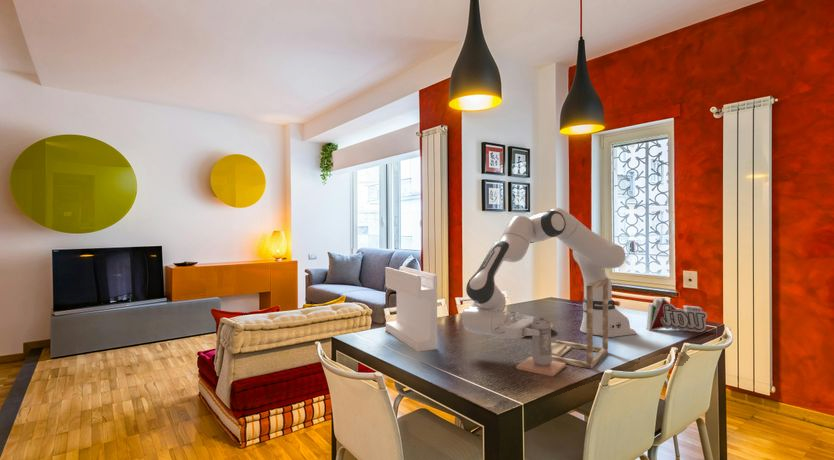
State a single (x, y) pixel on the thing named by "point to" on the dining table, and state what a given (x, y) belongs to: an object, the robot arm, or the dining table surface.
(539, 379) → the dining table surface
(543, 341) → the energy drink can
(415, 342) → the block
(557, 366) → the terracotta tile
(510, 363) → the dining table surface
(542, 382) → the dining table surface
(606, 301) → the birch rack
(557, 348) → the beige rectangular tray
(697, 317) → the decorative sign
